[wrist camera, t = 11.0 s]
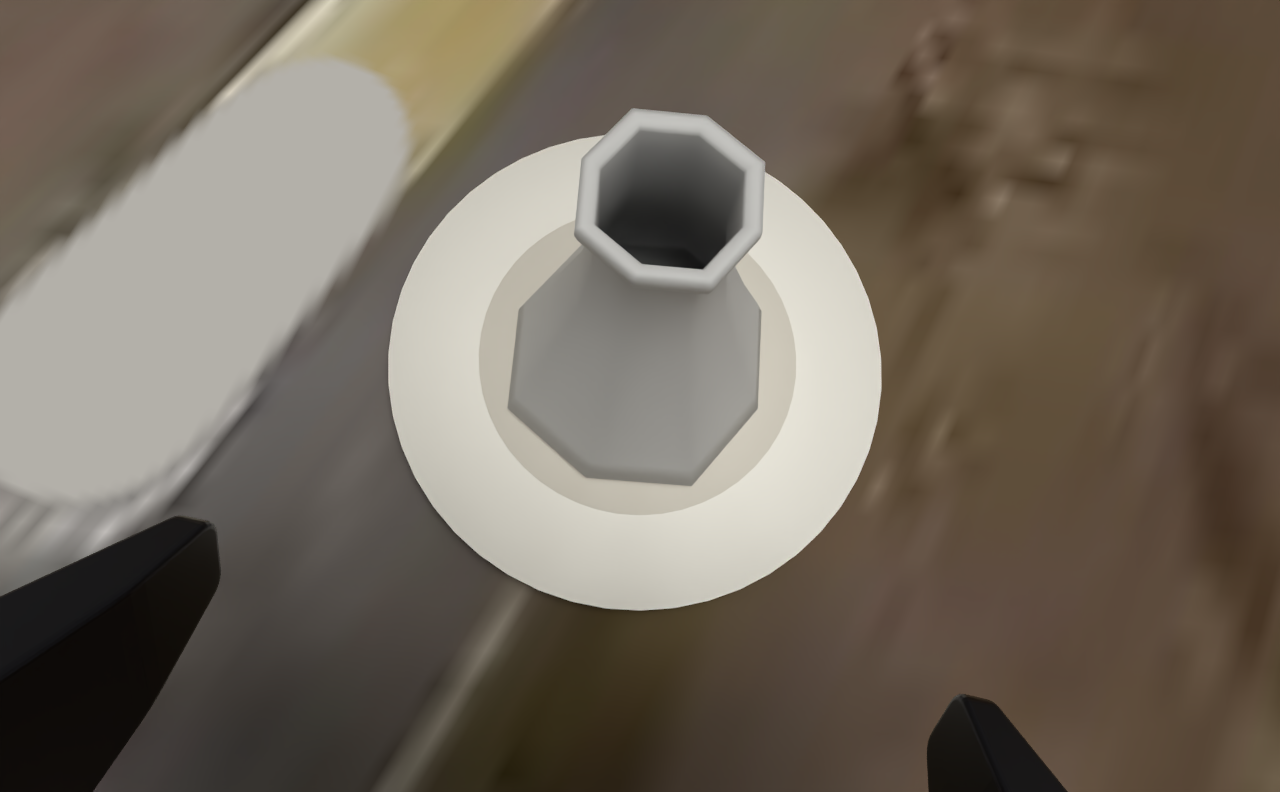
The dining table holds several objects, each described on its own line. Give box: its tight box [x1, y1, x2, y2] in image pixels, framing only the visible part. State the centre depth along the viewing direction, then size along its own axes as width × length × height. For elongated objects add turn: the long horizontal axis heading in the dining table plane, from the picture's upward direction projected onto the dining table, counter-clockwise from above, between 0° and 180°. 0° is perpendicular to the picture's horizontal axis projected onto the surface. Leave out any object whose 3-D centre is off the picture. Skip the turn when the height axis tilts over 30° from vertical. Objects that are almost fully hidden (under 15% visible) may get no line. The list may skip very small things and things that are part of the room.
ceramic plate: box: [388, 135, 881, 611], centre depth 23 cm, size 14×14×1 cm
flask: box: [508, 108, 765, 486], centre depth 18 cm, size 7×7×10 cm
